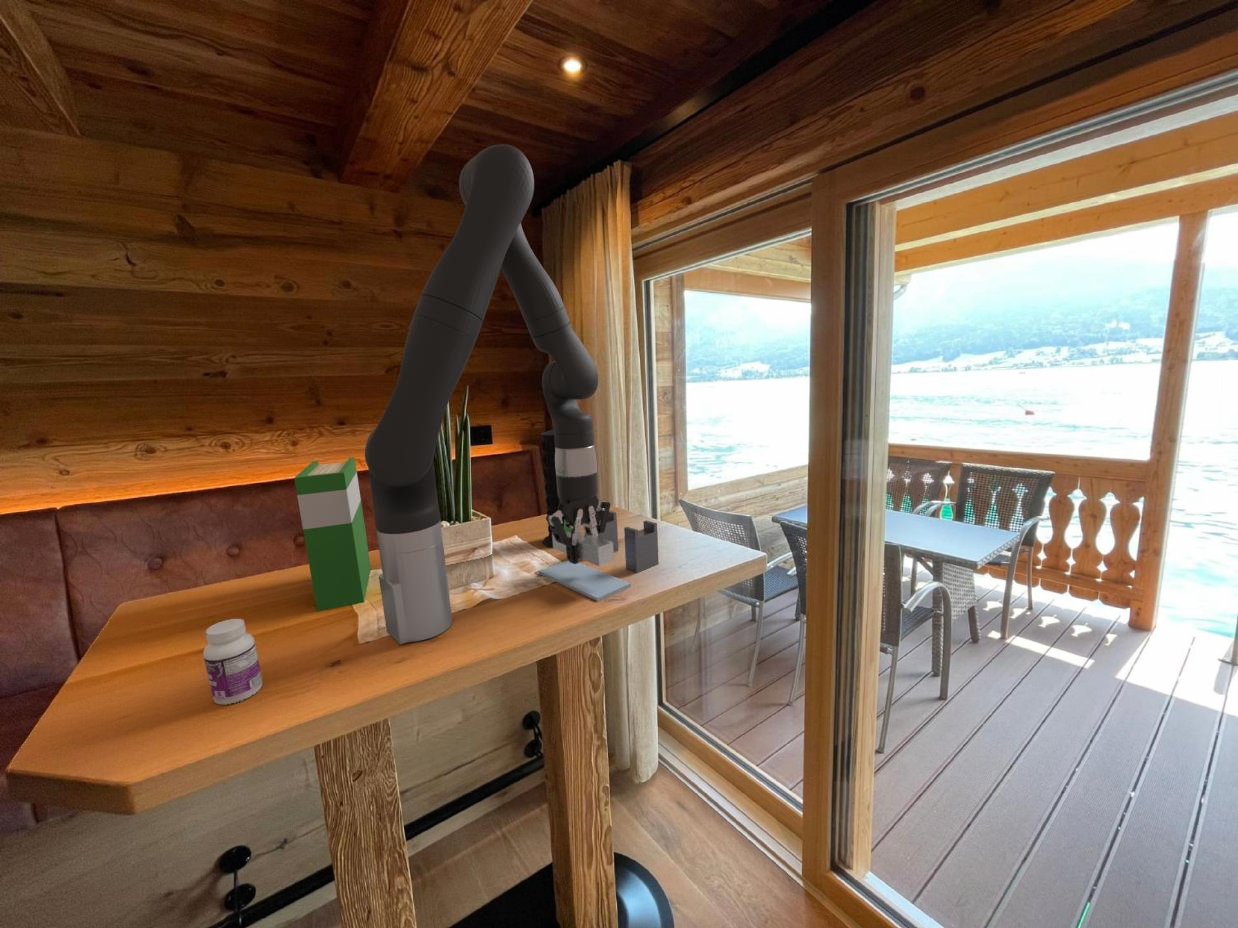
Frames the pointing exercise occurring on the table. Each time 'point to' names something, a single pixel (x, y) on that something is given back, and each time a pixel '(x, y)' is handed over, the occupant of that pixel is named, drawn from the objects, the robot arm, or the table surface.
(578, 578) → the mat
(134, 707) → the table surface
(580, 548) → the rail
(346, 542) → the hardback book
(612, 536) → the post left
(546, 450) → the handle grip
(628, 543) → the post right
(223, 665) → the pill bottle
